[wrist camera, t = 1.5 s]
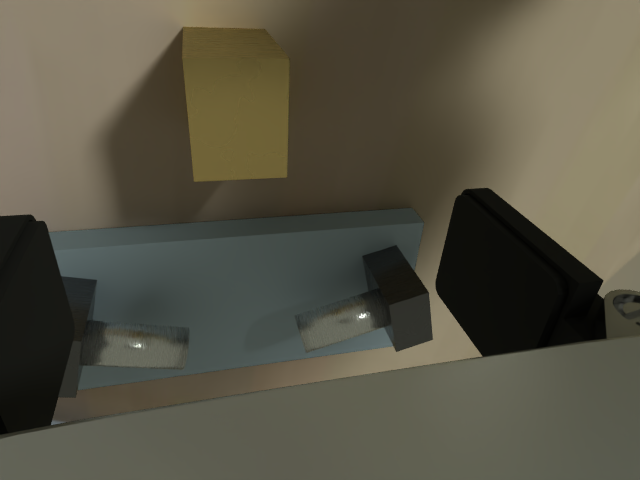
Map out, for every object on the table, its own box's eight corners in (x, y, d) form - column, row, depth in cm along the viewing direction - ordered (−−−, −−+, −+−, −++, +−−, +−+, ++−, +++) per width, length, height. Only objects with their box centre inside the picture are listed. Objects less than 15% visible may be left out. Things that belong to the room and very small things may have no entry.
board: (412, 207, 32) (424, 222, 30) (389, 327, 38) (398, 345, 36) (18, 234, 26) (7, 253, 25) (64, 369, 32) (57, 392, 31)
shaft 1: (46, 328, 28) (23, 396, 24) (49, 274, 26) (24, 338, 22) (180, 337, 31) (179, 399, 26) (191, 289, 29) (192, 348, 25)
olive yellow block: (182, 26, 23) (182, 57, 17) (264, 28, 24) (289, 58, 18) (192, 126, 25) (193, 181, 20) (265, 124, 26) (287, 177, 21)
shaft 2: (396, 245, 31) (428, 292, 27) (402, 289, 33) (432, 339, 29) (284, 280, 30) (299, 334, 26) (297, 323, 32) (314, 379, 28)
